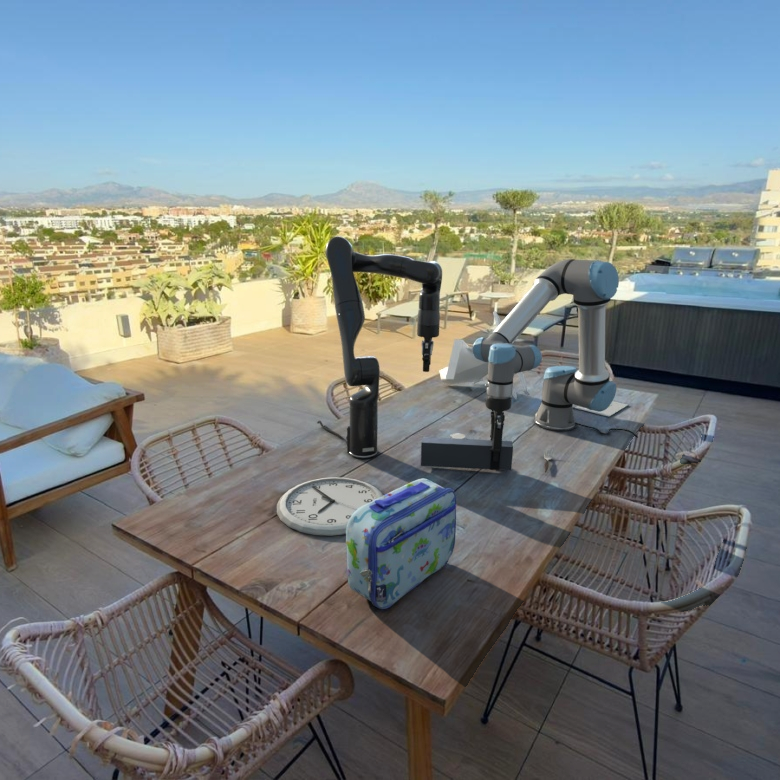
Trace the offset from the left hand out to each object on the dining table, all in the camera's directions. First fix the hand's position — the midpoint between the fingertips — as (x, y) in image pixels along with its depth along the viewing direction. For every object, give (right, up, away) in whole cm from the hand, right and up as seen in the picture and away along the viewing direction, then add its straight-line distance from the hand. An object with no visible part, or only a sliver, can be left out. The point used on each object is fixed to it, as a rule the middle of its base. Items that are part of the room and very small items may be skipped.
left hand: (426, 368), depth 182 cm
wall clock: (-29, -39, -39) cm, 62 cm away
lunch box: (-10, -49, -69) cm, 85 cm away
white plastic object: (+29, -9, +61) cm, 68 cm away
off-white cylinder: (+10, -29, -4) cm, 31 cm away
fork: (+38, -32, -12) cm, 51 cm away
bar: (+11, -31, -17) cm, 37 cm away
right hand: (+20, -31, -18) cm, 41 cm away
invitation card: (+79, -15, +44) cm, 92 cm away
